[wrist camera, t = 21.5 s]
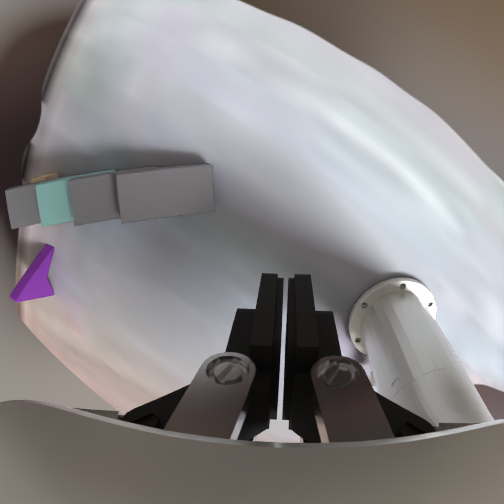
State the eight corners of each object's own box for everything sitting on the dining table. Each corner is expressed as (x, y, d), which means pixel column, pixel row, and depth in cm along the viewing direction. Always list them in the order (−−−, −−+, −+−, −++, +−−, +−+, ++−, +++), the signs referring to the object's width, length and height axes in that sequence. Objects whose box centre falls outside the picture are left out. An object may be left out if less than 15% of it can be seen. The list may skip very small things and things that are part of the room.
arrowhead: (68, 261, 46) (46, 315, 43) (61, 257, 46) (39, 311, 43) (44, 237, 37) (16, 301, 33) (36, 234, 37) (8, 297, 33)
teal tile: (115, 170, 33) (35, 185, 29) (119, 212, 35) (42, 227, 31) (114, 169, 35) (39, 182, 31) (118, 207, 37) (45, 221, 33)
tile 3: (212, 165, 32) (116, 175, 29) (214, 211, 34) (121, 223, 31) (207, 163, 34) (117, 172, 31) (208, 206, 36) (122, 217, 33)
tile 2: (156, 167, 33) (68, 181, 29) (159, 211, 34) (74, 225, 31) (153, 165, 35) (71, 178, 31) (156, 207, 37) (76, 220, 33)
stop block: (64, 214, 38) (51, 220, 36) (49, 215, 39) (37, 221, 36) (58, 172, 36) (44, 176, 33) (44, 174, 36) (30, 179, 34)
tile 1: (75, 176, 33) (5, 190, 29) (80, 215, 35) (11, 229, 31) (77, 173, 35) (10, 187, 31) (81, 210, 37) (16, 224, 33)
